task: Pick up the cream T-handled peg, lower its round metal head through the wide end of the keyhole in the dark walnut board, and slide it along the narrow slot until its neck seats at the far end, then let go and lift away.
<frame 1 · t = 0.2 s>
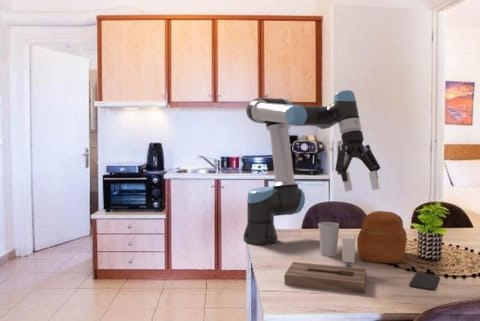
hand: (362, 190, 150), 27 cm above the table, tool tilted 15°, fingers open, 13 cm apart
bread: (381, 256, 165), on the table
phone: (424, 283, 136), on the table
keyhole peg: (348, 271, 147), on the table
keyhole board: (326, 281, 136), on the table
cup: (328, 254, 168), on the table
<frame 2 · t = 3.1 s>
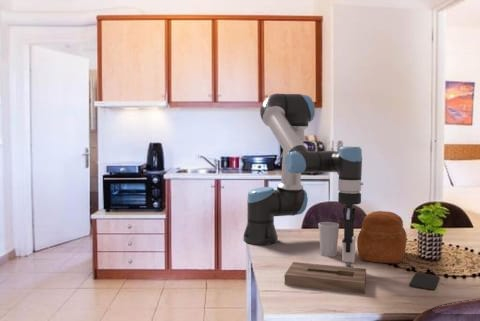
hand: (348, 259, 146), 4 cm above the table, tool pointing down, fingers closed on keyhole peg, 4 cm apart
keyhole peg: (348, 271, 147), on the table, touching gripper
everything else where it was.
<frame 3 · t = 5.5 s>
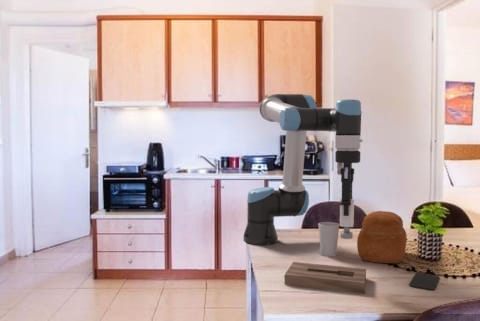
hand: (346, 224, 133), 19 cm above the table, tool pointing down, fingers closed on keyhole peg, 4 cm apart
keyhole peg: (346, 237, 134), point 15 cm above the table, touching gripper
everything else where it was.
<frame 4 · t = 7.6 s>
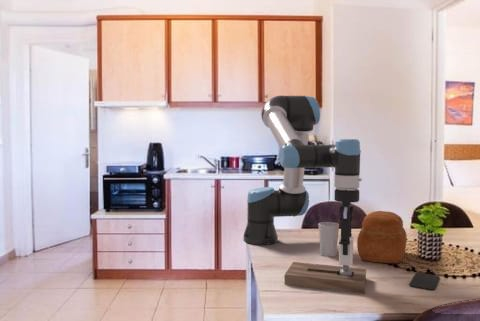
hand: (345, 262, 134), 7 cm above the table, tool pointing down, fingers closed on keyhole peg, 4 cm apart
keyhole peg: (345, 275, 134), point 3 cm above the table, touching gripper
everything else where it was.
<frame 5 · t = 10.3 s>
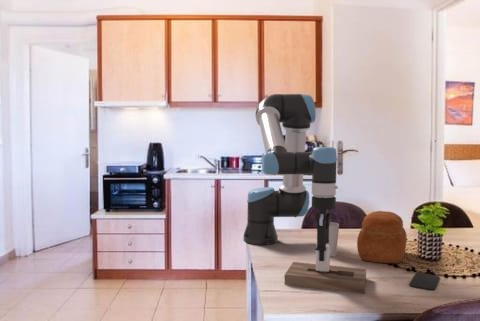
hand: (322, 268, 137), 4 cm above the table, tool pointing down, fingers closed on keyhole peg, 4 cm apart
keyhole peg: (322, 280, 137), resting in keyhole board, touching gripper
everything else where it was.
when the fingers open (4 cm above the table, at t = 12.1 s): keyhole peg stays where it is, resting in keyhole board.
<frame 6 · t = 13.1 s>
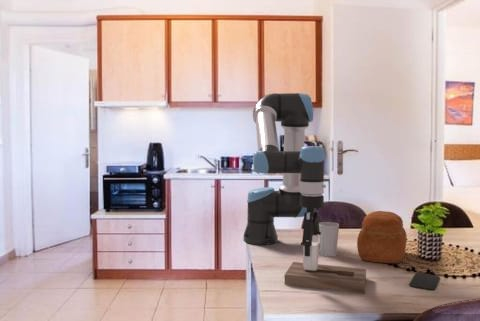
hand: (310, 259, 137), 6 cm above the table, tool pointing down, fingers open, 13 cm apart
keyhole peg: (310, 279, 138), resting in keyhole board
everything else where it was.
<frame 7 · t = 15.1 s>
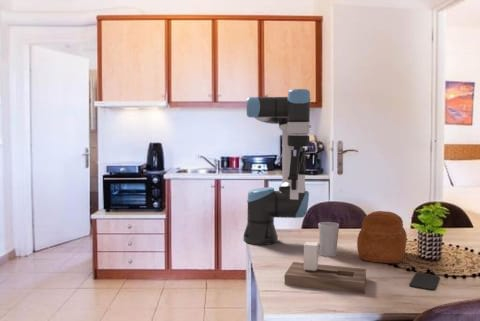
hand: (297, 195, 148), 26 cm above the table, tool pointing down, fingers open, 13 cm apart
nothing on the table moved.
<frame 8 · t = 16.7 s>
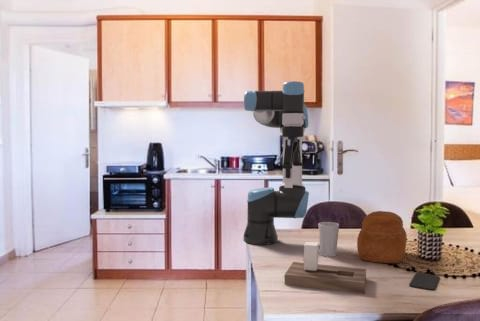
hand: (292, 185, 152), 29 cm above the table, tool pointing down, fingers open, 13 cm apart
nothing on the table moved.
at the end: keyhole peg 0.2 cm from the target spot on the keyhole board, point 0.0 cm above the keyhole board's base; keyhole peg tilted 0°; the gripper is holding nothing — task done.
